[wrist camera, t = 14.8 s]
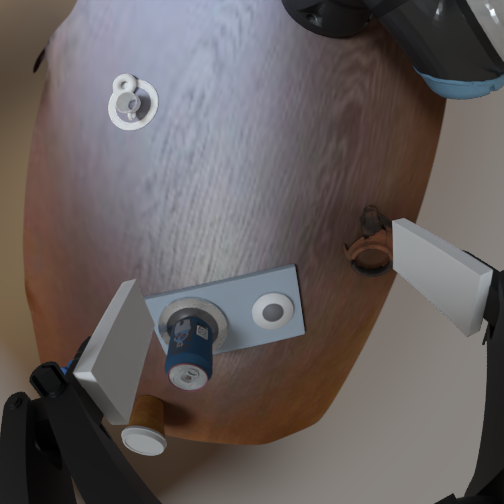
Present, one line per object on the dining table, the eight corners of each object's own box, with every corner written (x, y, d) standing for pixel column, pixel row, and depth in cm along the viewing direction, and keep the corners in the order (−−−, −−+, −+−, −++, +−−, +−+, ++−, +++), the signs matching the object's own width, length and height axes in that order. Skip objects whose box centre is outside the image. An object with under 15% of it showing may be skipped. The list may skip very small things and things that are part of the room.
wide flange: (217, 289, 48) (217, 293, 47) (234, 345, 53) (234, 349, 52) (149, 304, 48) (147, 307, 47) (172, 356, 53) (171, 360, 52)
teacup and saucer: (114, 75, 36) (105, 70, 32) (163, 75, 37) (158, 69, 33) (106, 130, 39) (96, 129, 35) (155, 131, 40) (149, 130, 36)
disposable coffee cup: (173, 417, 61) (169, 458, 50) (134, 413, 60) (126, 453, 49) (168, 392, 58) (162, 435, 47) (126, 388, 57) (115, 429, 46)
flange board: (293, 263, 49) (296, 269, 47) (303, 330, 55) (306, 337, 53) (143, 296, 49) (140, 303, 47) (170, 357, 54) (168, 365, 52)
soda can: (198, 351, 51) (195, 401, 40) (165, 332, 49) (154, 381, 38) (220, 326, 50) (222, 375, 39) (186, 305, 48) (178, 353, 37)
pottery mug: (397, 242, 51) (402, 276, 45) (349, 250, 55) (348, 284, 49) (388, 188, 44) (396, 220, 38) (333, 198, 48) (332, 231, 42)
